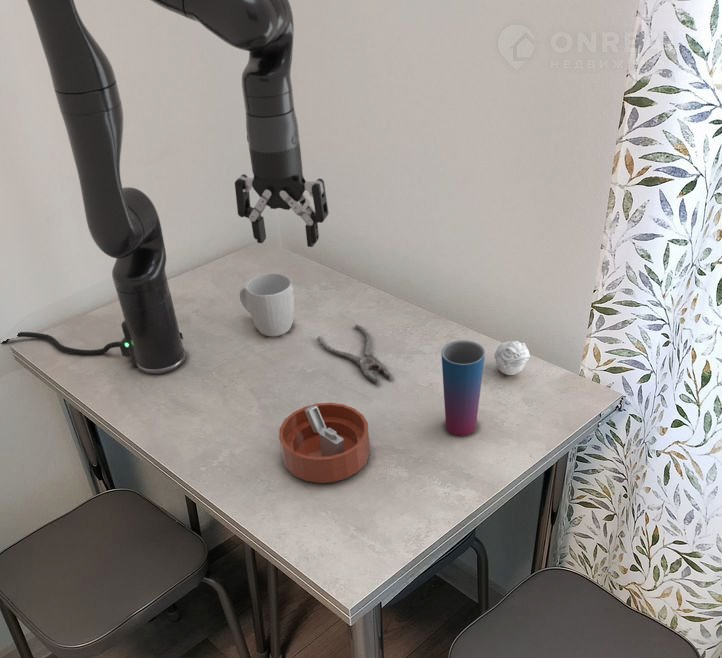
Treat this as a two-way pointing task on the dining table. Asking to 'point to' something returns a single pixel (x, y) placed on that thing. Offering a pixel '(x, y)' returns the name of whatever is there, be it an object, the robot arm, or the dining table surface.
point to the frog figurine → (511, 357)
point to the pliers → (363, 363)
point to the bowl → (306, 449)
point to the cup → (462, 385)
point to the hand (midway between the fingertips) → (286, 242)
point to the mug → (269, 303)
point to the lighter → (325, 433)
